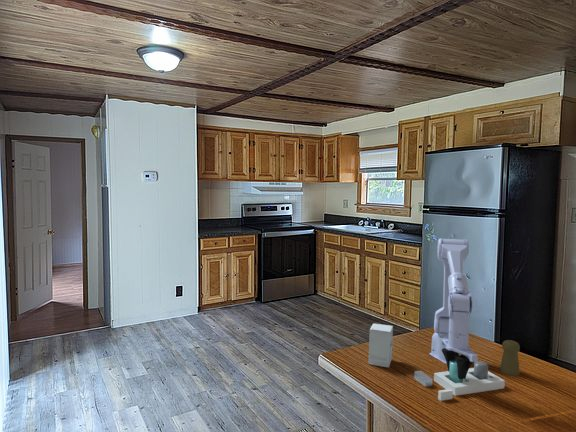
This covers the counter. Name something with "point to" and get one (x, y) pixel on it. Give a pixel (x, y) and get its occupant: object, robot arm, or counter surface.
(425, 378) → the bar
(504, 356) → the cork
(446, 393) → the block
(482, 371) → the grey rounded block
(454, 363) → the teal rounded block
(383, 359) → the supplement box
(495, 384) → the housing
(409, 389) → the counter surface
